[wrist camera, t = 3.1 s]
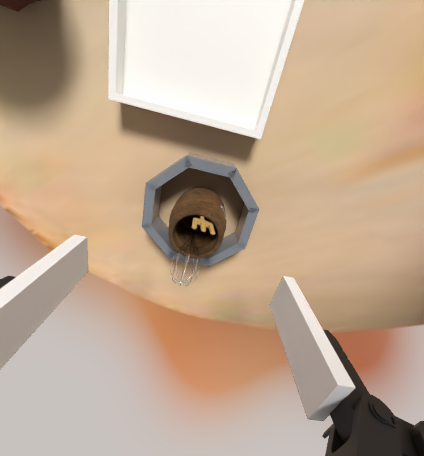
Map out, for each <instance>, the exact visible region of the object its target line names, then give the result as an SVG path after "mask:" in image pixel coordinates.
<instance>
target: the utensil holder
mask: <svg viewBox="0 0 424 456" xmlns="http://www.w3.org/2000/svg"><path fill="white" fill-rule="evenodd" d="M225 229H226V215H225V208H224V205H223V202H222V200H221V199H220V197H219V196H218V195H217V194H216V193H215V192H213V191H212V190H210V189H207V188H202V187H197V188H192V189H190V190H188V191H186V192H185V193H183V194H182V195H181V196H180V198H179V199H178V200H177V202H176V204H175V206H174V208H173V210H172V212H171V215H170V221H169V231H168V235H169V240H170V243H171V245H172V246H173V248H174V249H175V250H176V251H177V252H178V253H180V255H183V256H186V257H188V259H189V258H193V259H200V258H205V257H208V256H210V255H212V254H213V253H215V252H216V251H217V250H218V248H219V247H220V245H221V243H222V240H223V236H224V232H225ZM177 252H176V253H177ZM175 255H176V254H175ZM175 255H174V257H175ZM178 257H180V256H179V255H178ZM173 259H174V258H173ZM178 259H179V258H178ZM178 259H177V261H178ZM186 260H187V258H186ZM172 262H173V260H172ZM197 262H198V260H197ZM185 263H186V261H185ZM187 263H188V261H187ZM199 265H200V260H199ZM171 266H172V264H171ZM175 266H176V272H177V262H176V264H175ZM184 267H185V265H184ZM186 267H187V265H186ZM196 267H197V264H196ZM174 269H175V267H174ZM193 269H194V264H193ZM195 270H196V268H195ZM183 271H184V269H183ZM185 271H186V269H185ZM198 271H199V268H198ZM170 272H171V268H170ZM194 272H195V271H194ZM173 273H174V271H173ZM184 274H185V272H184ZM193 274H194V273H193V272H192V275H193ZM171 275H172V274H171ZM182 275H183V273H182ZM197 275H198V273H197ZM177 276H178V274H177ZM183 277H184V276H183ZM173 278H174V277H173V275H172V279H173ZM178 278H179V277H178ZM196 278H197V276H196ZM196 278H195V279H196ZM174 279H175V278H174ZM181 279H182V277H181ZM188 279H189V278H188ZM188 279H187V280H188ZM191 279H192V277H191ZM195 279H194V280H195ZM175 280H176V279H175ZM179 280H180V279H179ZM182 280H183V279H182ZM187 280H185V281H187ZM194 280H193V281H194ZM173 281H174V280H173ZM176 281H177V280H176ZM185 281H183V282H185ZM193 281H192V282H193ZM178 282H180V285H181V283H182V284H183V282H181V281H178ZM175 283H176V282H175ZM190 283H191V281H190V282H189V284H190ZM189 284H188V285H189ZM183 285H184V284H183ZM185 286H187V285H185Z"/></svg>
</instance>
